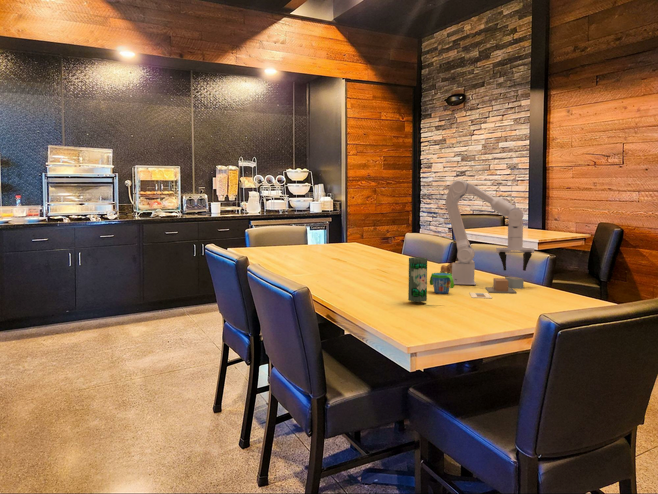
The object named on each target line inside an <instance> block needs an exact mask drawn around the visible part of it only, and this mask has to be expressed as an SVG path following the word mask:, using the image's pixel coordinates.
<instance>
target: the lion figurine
mask: <svg viewBox="0 0 658 494" xmlns="http://www.w3.org/2000/svg"><path fill="white" fill-rule="evenodd" d="M452 263H453V262H451V263H448V264H447V265H445V264H443V265H441V266H440V272H439V273H450V274H452Z"/></svg>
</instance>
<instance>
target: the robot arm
mask: <svg viewBox="0 0 658 494" xmlns="http://www.w3.org/2000/svg"><path fill="white" fill-rule="evenodd" d="M465 195H472V196H476V197H477V198H479V199H481V200H483V201H484V202H486V203H488V204H489V205H490V208H491V209H492V211H495V212H497V213H498V214H500V215H501V216H503V217H507V218H508V226H507V247H496V248H495V253H497V254H498V256H499V258H500V261H501V263H502V269H503V271H504V272H505V271H507V253H509V254H511V253H514V254H522V256H523V259H522V260H523V263H522V271H524V272H525V271H527V267H528V264H529V261H530V259H531V257H532V255H533V254H535V248H533V247H523V246H524V245H523V240H524V239H523V238H524V237H523V236H524V234H523V233H524V225H523V223H524V222H523V218H524V212H523V210H522V209H521V208H519V207H516V204H512V203H510V202H509V201H507V200H506V199H507V198H505V197H501V196H498V197H494V196H493V195H491V194H489V193H487V192H486V191H484V189H481V188H480V187H478V186H477V185H475V184H472V183H469V182H467V181H466V180H463V179H456V180H454V181H453V182H452V183H451V184H450V186H449V187H448V191H447V195H446V198H445V207H446V211H447V214H448V217H449V221H450V224H451V228H452V231H453V235H454V238H455V242H456V249H457V253H456V257H457V261H456V262H451V263H452V278H453V281H454V285H468V286H469V285H471V286H473V285H474V286H476V285H477V283H476V281H475V272H476V271H475V267H476V266H475V265H476V263H475V261H474V260H473V259H474V258H475V255H476V252H475V249H474V248H473V247H472V246H471V243H470V241H469V239H468V235H467V232H466V228H465V225H464V221H463V217H462V215H461V212H460V209H459V205H458V204H459V202H460V201H461V200H462V198H463V197H464V196H465Z"/></svg>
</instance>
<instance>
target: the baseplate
mask: <svg viewBox="0 0 658 494" xmlns="http://www.w3.org/2000/svg"><path fill="white" fill-rule="evenodd" d="M485 290H486V291H487V293H490V294H515V295H516V294H517V291H516V289H512V288H509V287H508V291H496V290H495V289H494V288H493V287H491V286H490V287H488V286H486V287H485Z"/></svg>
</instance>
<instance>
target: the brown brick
mask: <svg viewBox="0 0 658 494" xmlns="http://www.w3.org/2000/svg"><path fill="white" fill-rule="evenodd" d="M492 280H493V282H492V285H493V288H494V289H495V290H496V291H508V288H509V287H508V280H507V279H505V277H504V278H503V277H502V278H501V277H500V278H499V277H495V278H494V277H493V279H492Z"/></svg>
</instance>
